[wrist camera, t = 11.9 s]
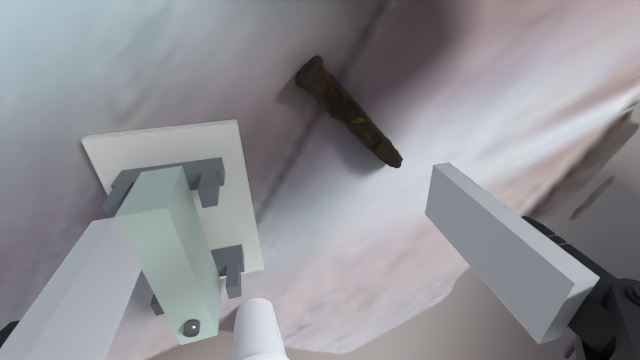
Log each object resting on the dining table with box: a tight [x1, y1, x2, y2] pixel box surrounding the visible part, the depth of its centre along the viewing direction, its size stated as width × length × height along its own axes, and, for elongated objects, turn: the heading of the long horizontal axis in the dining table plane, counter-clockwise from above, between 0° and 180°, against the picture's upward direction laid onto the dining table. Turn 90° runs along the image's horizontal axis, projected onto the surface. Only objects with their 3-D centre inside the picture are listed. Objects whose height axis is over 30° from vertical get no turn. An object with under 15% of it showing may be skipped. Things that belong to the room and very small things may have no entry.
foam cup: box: [229, 298, 289, 360], centre depth 46 cm, size 10×9×13 cm
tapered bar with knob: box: [115, 166, 221, 345], centre depth 31 cm, size 4×18×9 cm, turn 3°
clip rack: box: [81, 119, 264, 315], centre depth 35 cm, size 16×24×9 cm, turn 2°
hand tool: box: [295, 55, 403, 168], centre depth 37 cm, size 19×4×5 cm, turn 42°
